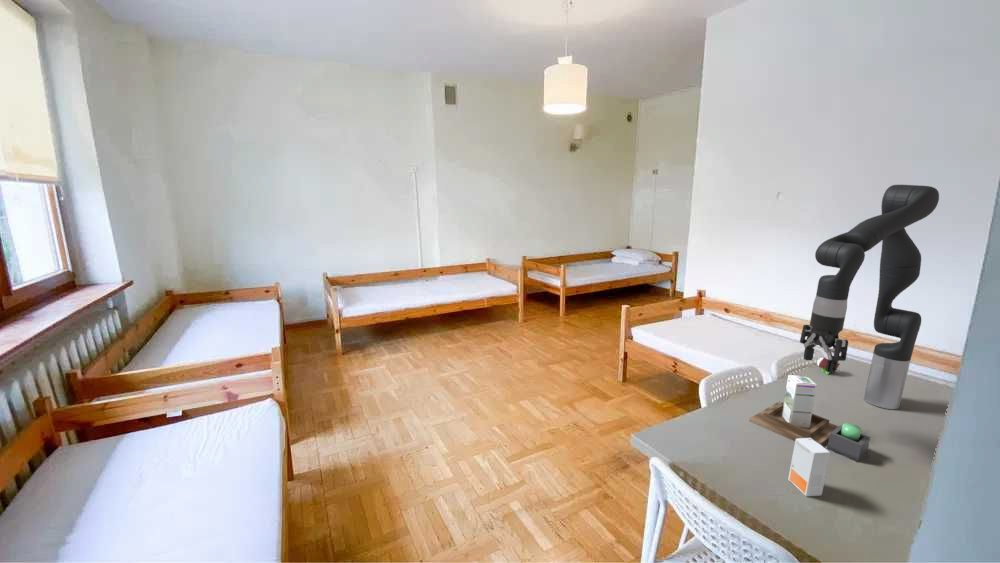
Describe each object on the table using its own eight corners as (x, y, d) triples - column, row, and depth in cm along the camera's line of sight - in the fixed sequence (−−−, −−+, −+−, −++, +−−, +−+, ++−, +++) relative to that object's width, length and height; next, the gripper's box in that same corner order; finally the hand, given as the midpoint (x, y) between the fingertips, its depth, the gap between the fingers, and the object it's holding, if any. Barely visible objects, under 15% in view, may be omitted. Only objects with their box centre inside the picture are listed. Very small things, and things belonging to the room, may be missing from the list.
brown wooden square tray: (776, 405, 143) (777, 397, 142) (840, 430, 128) (842, 421, 128) (749, 421, 133) (750, 412, 133) (815, 450, 119) (817, 440, 118)
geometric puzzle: (836, 364, 171) (827, 349, 170) (849, 372, 164) (838, 356, 163) (820, 374, 172) (810, 358, 171) (831, 381, 165) (820, 365, 164)
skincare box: (787, 480, 107) (794, 437, 104) (802, 479, 107) (810, 437, 104) (806, 497, 101) (814, 453, 98) (822, 496, 101) (831, 452, 98)
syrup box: (810, 428, 128) (818, 384, 124) (788, 426, 129) (796, 382, 125) (801, 418, 133) (808, 376, 130) (780, 416, 134) (787, 374, 131)
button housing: (836, 440, 123) (840, 425, 122) (867, 453, 117) (870, 437, 116) (826, 448, 119) (830, 432, 118) (857, 461, 114) (861, 445, 113)
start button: (843, 431, 120) (845, 421, 119) (861, 437, 117) (863, 428, 116) (838, 435, 118) (840, 425, 117) (856, 442, 115) (858, 432, 114)
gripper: (863, 320, 113) (851, 376, 116) (822, 305, 126) (813, 356, 130) (835, 320, 112) (824, 376, 116) (797, 305, 126) (789, 356, 130)
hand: (818, 365), depth 123 cm, fingers open, 8 cm apart
